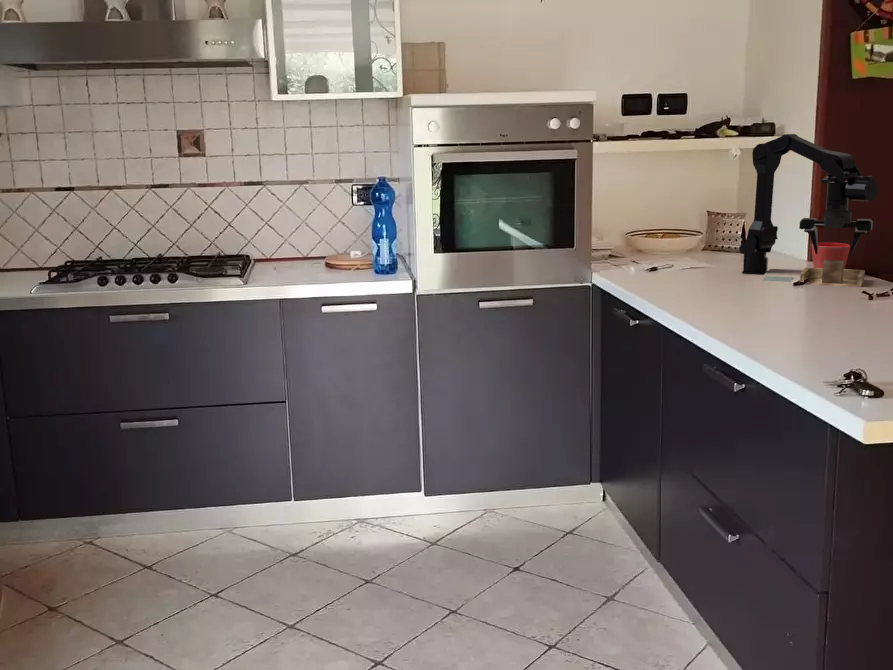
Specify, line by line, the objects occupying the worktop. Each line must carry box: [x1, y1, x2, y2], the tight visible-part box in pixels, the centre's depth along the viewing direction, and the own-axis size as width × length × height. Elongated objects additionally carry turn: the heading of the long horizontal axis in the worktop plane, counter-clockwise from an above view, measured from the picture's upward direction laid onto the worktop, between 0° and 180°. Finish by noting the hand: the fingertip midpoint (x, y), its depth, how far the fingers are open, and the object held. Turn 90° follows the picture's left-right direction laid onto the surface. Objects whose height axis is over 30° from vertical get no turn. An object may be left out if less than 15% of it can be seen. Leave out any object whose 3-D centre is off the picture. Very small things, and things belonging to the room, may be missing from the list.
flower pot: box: [811, 242, 851, 269], centre depth 272 cm, size 11×11×10 cm
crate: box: [799, 267, 866, 288], centre depth 260 cm, size 16×12×4 cm
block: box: [822, 260, 844, 284], centre depth 259 cm, size 5×5×6 cm
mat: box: [761, 275, 795, 283], centre depth 268 cm, size 8×8×1 cm
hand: (833, 254), depth 258 cm, fingers open, 9 cm apart
